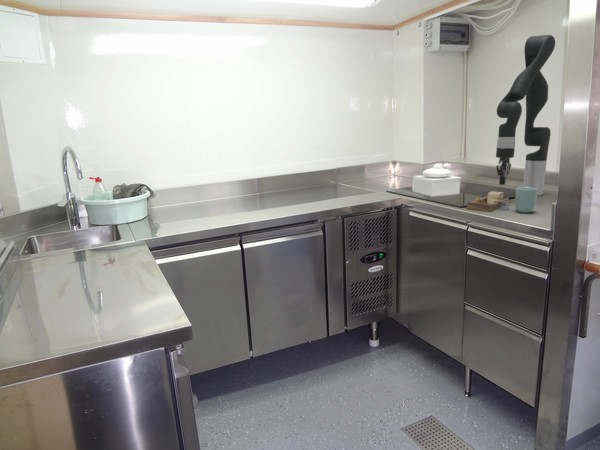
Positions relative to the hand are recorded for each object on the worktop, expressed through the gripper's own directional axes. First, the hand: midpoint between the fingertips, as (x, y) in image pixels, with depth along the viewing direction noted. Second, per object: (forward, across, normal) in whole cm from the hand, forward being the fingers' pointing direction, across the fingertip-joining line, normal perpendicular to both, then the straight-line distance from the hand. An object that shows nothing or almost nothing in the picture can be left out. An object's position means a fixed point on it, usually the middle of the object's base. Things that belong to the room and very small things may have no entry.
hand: (502, 184), depth 200 cm
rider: (+8, +6, 0) cm, 10 cm away
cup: (+9, +17, +15) cm, 24 cm away
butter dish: (+8, -5, -35) cm, 37 cm away
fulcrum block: (+8, +16, +7) cm, 20 cm away
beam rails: (+8, +13, 0) cm, 16 cm away
